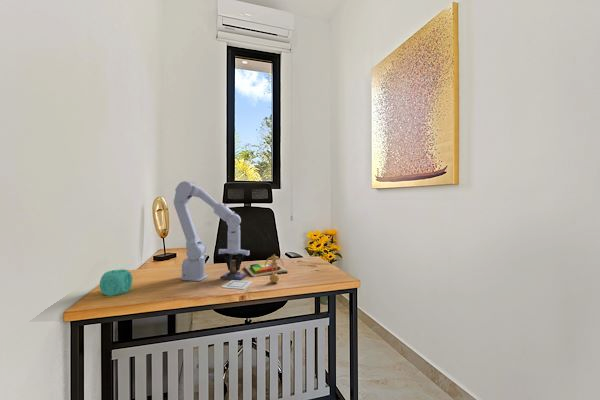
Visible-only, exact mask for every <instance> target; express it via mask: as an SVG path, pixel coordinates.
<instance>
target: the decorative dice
mask: <svg viewBox="0 0 600 400" xmlns="http://www.w3.org/2000/svg"><path fill="white" fill-rule="evenodd" d="M132 285H133V274H132V272H131V271H130V270H129V269H121V268H120V269H113V270H109V271H105V272H104V273H103V274H102V276H101V277H100V281H99V290H100V292H101V293H102V294H104V295H105V296H107V295H108V296H107V297H113V296H112V295H115V296H119V295H123V293H124V294H126V293H128V292H129V290H130V289H131V287H132Z"/></svg>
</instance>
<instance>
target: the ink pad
mask: <svg viewBox="0 0 600 400" xmlns="http://www.w3.org/2000/svg"><path fill="white" fill-rule="evenodd" d="M229 272H230V271H229ZM229 272H226V273H225V274H223V275H221V276H220V277H219V279H220V280H230V281H231V280H240V281H243V280H244V279H245V278H247V277H248V274H247V273H241V272H240V274H239V275H238V276H236V277H234V276H227V273H229Z"/></svg>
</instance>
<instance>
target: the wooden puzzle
mask: <svg viewBox="0 0 600 400" xmlns="http://www.w3.org/2000/svg"><path fill="white" fill-rule="evenodd" d="M265 263H266V261H265V262H261V263H260V262H259V263H253V264H250V266H246V265H243V268H244V270H246V271H247V272H248V273H249V275H250V277H252V278H257V277H263V276H265V277H266V276H271V275H272V267H271V263H273V262H272V260H271V261H267V263H266V266H265ZM275 269H276V267H275V265H274V267H273V273H274V274H275ZM276 273H277V274H279V273H286V274H288V273H289V271H288V270H287V269H286V268H284V267H283V266H282V265H280V264H279V263H277V270H276Z"/></svg>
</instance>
